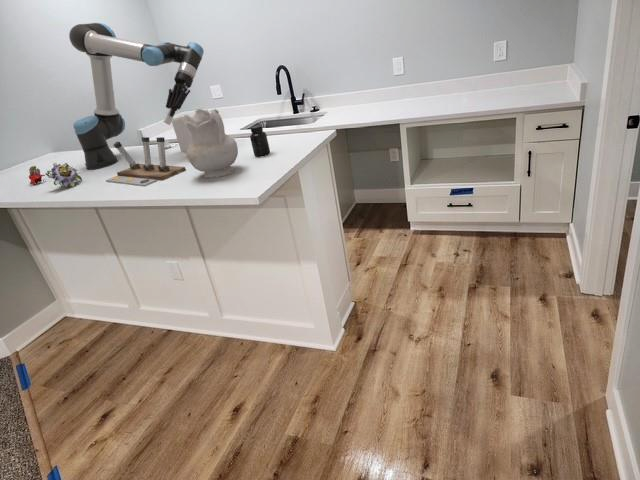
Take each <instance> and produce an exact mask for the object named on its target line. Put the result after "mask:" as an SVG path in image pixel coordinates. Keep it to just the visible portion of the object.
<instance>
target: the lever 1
mask: <svg viewBox="0 0 640 480" xmlns="http://www.w3.org/2000/svg"><path fill="white" fill-rule="evenodd" d="M113 147H114V148H115V149H117V151H119V153H120V154H121V155H122V157H123V158H124V159H125V160H126V162H128V164H130V165H131V167H132V168H135V166H134V165H135V164H137V162H136V161H135V160H134V159H133V157H132V156H131V155H130V154H129V152H128V151H127V150H126V149H125V147H124V146H123V144H122V143H121V141H116V142H115V143H113Z"/></svg>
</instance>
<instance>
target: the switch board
mask: <svg viewBox="0 0 640 480" xmlns="http://www.w3.org/2000/svg"><path fill="white" fill-rule="evenodd" d="M128 164H129V163H128ZM134 166H135V168H132V167H131V165H130V164H129V167H127V168H125V169H123V170H120V171H117V172H116V174H117V175H116V176H125V177H134V178H144V179H154V180H157V181H164V180H168V179H169V178H171V177H173V176H176V175H178V174H180V173H183V172H185V171H186V167H185V166H176V165H167V164H166V166H164V167H163V168H164V170H160V164H152V163H151V165H149V166H148V167H149V169H146V168H145V163H136V164H135V165H134Z"/></svg>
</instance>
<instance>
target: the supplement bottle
mask: <svg viewBox="0 0 640 480" xmlns="http://www.w3.org/2000/svg"><path fill="white" fill-rule="evenodd" d="M250 132H251V134H250V136H249V138H250V143H251V148H252V151H253V155H254V157H255V158H262V157H261V156H264V157H266V156H265V155H267V156H269V155H270V154H271V149H270V145H269V141H268V135H267V132H266V131H264V129H263V125H262V124H259V125H258V124H257V125H253V126H251V127H250ZM268 154H269V155H268Z"/></svg>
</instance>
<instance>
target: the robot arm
mask: <svg viewBox="0 0 640 480" xmlns="http://www.w3.org/2000/svg"><path fill="white" fill-rule="evenodd" d="M68 34H69V35H68V37H69V41H70V43H71V45H72V47H74V48H75V49H76V50H77V51H78V52H81V53H85V54H86V55H87V56H88V57H89V59H90V60H89V61H90V66H91V74H92V82H93V90H94V97H95V103H96V104H95V105H96V108H95V109H94V111H93V114H94V115H90V116H85V117H82V118H80V119H78V120H76V121H75V122H74V123H73V129H74V133H75V135H76V137H77V139H78V141H79V145H80V147H81V148H82V151H83V154H84V160H85V163H84V165H85V168H86V170H97V169H101V168H106V167H109V166H111V165H114V164H116V163H117V162H118V161H119V160H118V157H117V155H115V154H114V152H113V151H112V149H111V147H109V145H108V141H107V140H109V139H112V138H115V137H118V136H119V135H121V134H122V133H123V132H124V131H125V129H126V128H125V127H126V122H125V119H124V117H123V116H122V115H121V114H120V111H119V110H118V109H117V108H116V101H115V93H114V92H115V91H114V84H113V83H114V82H113V76H112V75H113V73H112V67H111V66H112V64H111V59H112V57H118V58H122V59H126V60H132V61H137V62H142V63H145V64H146V65H148V66H149V67H159V66H161V65H165V64H168V63H169V64H170V63H178V64H179V66H178V68H177V71H176V73H175V76H174V78H173V79H174V82H175V83H174V85H173V88H172V89H171V88H169V89H168V96H167V100H166V103H165V104H166V105H165V108H167V111H166V114H165V116H164V119H163V123H165V124H167V125H168V126H169V125H171V124H172V119H173V118H174V116H175V113H176V112H177V111H178V110H181V108H182V106H183V104H184V102H185V101H186V99H187V97H188V95H189V94H190V93H191V89H190V88H191V87H192V85H193V82H194V79H195V77H196V73H197V71H198V68H199V67H200V63H201V61H202V60H203V55H204V53H205V50H204V49H203V46H201V45H200V44H199V43H198V42H195V41H190V42H188V43H187V45H186V46H185V45H179V44H175V43H172V42H168V41H167V42H166V41H161V42H160V43H159V44H158V45H154V44H153V45H152V44H147V43H143V42H137V41H134V40H128V39H124V38H118V37H117V36H116V34H115V31H114V30H113V29H111V27H110V26H109V25H107V24H105V23H101V22H91V23H78V24H76V25H73V26H72V28H71V29H70V30H69V33H68Z"/></svg>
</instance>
